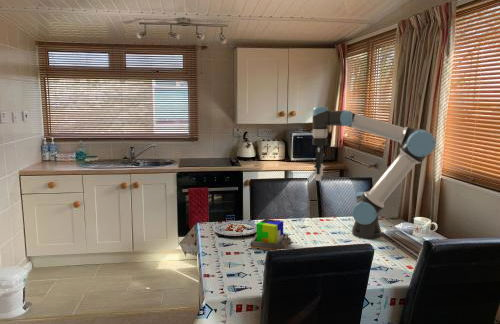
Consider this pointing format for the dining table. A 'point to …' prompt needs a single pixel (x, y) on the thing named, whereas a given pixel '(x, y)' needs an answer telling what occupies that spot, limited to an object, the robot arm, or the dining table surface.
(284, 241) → the pocket board
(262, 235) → the puzzle toy
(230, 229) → the ceramic plate
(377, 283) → the dining table surface
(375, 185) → the robot arm
